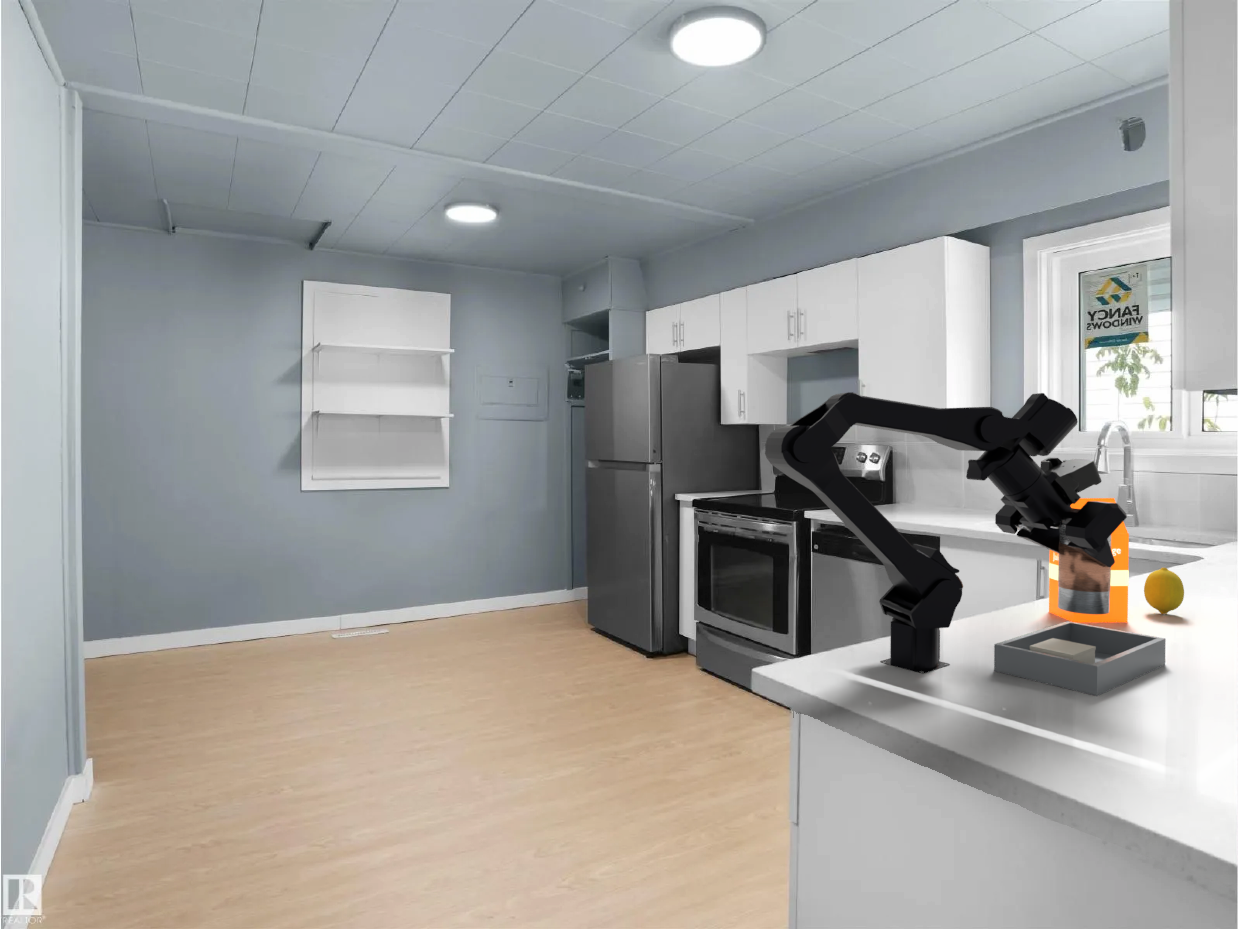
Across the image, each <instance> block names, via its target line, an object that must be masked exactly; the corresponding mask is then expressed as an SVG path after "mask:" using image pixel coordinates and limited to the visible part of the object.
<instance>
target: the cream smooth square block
mask: <svg viewBox="0 0 1238 929" xmlns="http://www.w3.org/2000/svg"><path fill="white" fill-rule="evenodd" d="M1030 650H1031V651H1036V652H1040V653H1045V654H1050V655H1054V656H1059V657H1064V658H1068V659H1073V660H1078V661H1082V662H1087V663H1091V664H1094V663H1095V650H1096V647H1095V646H1090V645H1085V644H1080V643H1075V642H1070V641H1065V640H1060V639H1055V638H1052V639H1049V640H1046V641H1043V642H1040V643H1037V644H1034V645H1031V646H1030Z"/></svg>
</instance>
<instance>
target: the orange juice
mask: <svg viewBox="0 0 1238 929" xmlns="http://www.w3.org/2000/svg"><path fill="white" fill-rule="evenodd" d="M1115 499H1116V498H1115V497H1100V498H1099V497H1094V498H1093V497H1091V498H1089V497H1085V498H1083V497H1081V498H1080V499H1079V500H1078V501H1077V502H1076V503H1075V504H1071V505H1070V506H1071V508H1075V509H1081V508H1082V507H1083V506H1084V505H1085V504H1086V503H1087V502H1088V501H1100V502H1110V503H1117V502H1116V500H1115ZM1129 538H1130V534H1129V531H1128V530H1127V527H1126V525H1125V522H1124V521H1123V522H1122V523H1121V524H1120V525H1119V526H1118V527H1117V529H1116V530H1115V531H1114V532H1113V533H1112V534H1111V551H1112V554H1113V557H1114V560H1115V563H1114V564H1113V565H1112V566H1111V582H1110V604H1109V613H1108V614H1082V613H1074V612H1069V611H1065V610H1062V609H1059V608H1058V565H1059V554H1058V553H1056V552H1054V551H1052V550H1049V560H1048V561H1049V562H1048V578H1049V581H1048V582H1049V583H1048V584H1049V585H1048V613H1050V614H1053V615H1055V616H1057V617H1060V618H1062V619H1064V620H1067V621H1070V622H1075V623H1128V622H1129V621H1128V620H1129V617H1128V614H1129V613H1128V612H1129V609H1128V608H1129V606H1128V605H1129V584H1130V583H1129V581H1130V578H1129V576H1130V575H1129V574H1130V572H1129V571H1130V570H1129V549H1130V546H1129V542H1130V541H1129Z"/></svg>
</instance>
